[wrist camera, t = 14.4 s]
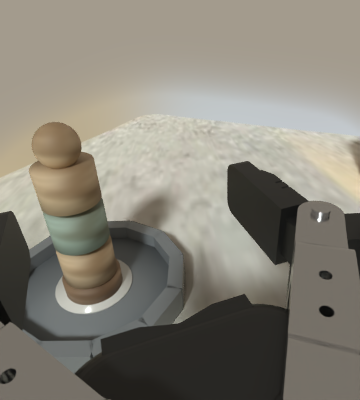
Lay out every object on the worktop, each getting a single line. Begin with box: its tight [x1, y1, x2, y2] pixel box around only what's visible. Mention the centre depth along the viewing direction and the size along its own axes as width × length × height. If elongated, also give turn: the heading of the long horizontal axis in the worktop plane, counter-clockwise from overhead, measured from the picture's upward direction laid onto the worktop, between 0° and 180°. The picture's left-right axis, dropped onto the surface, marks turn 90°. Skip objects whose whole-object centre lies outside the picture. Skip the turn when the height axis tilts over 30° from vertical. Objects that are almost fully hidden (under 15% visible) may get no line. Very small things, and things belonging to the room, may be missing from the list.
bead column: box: [29, 122, 123, 305], centre depth 28 cm, size 6×6×16 cm
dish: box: [22, 221, 185, 374], centre depth 33 cm, size 18×18×2 cm
